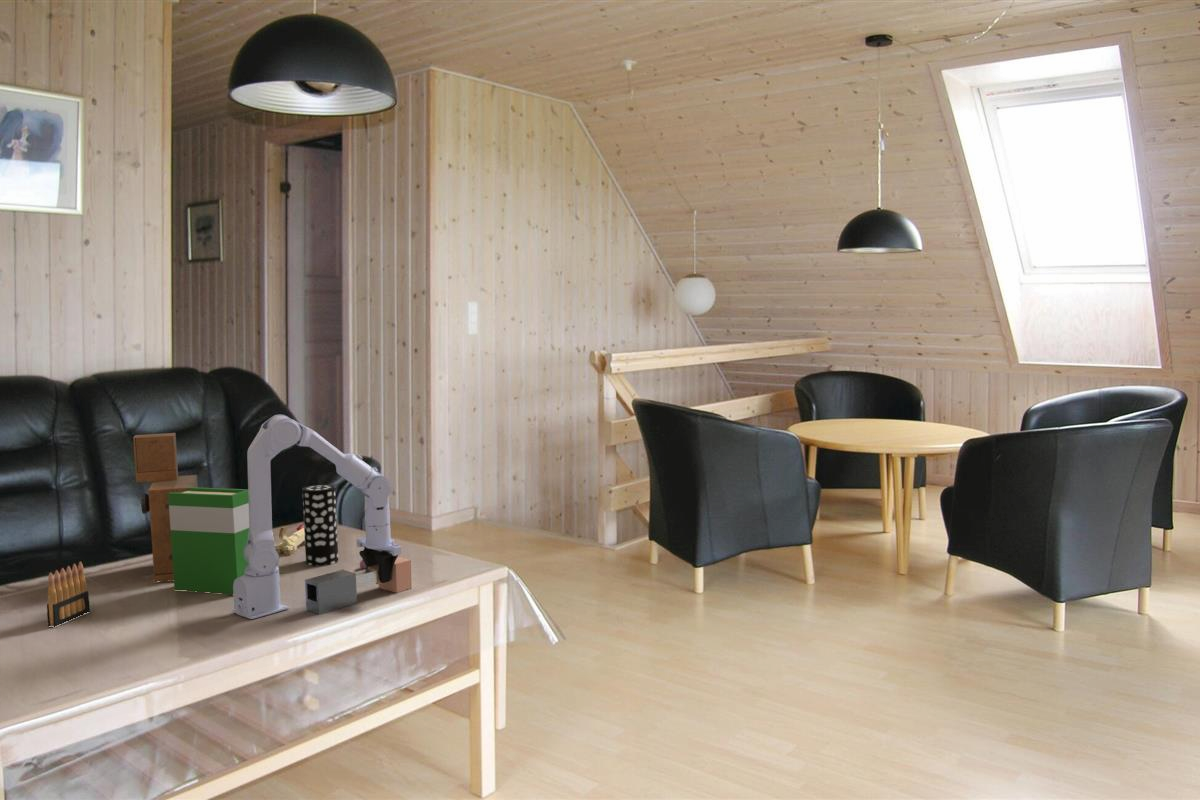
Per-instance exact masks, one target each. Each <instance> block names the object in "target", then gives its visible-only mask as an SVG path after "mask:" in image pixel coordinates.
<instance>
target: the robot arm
mask: <svg viewBox="0 0 1200 800" xmlns="http://www.w3.org/2000/svg"><path fill="white" fill-rule="evenodd" d="M294 445H297V446H298V447H308V448H311V449H312V450H313V451H315V452H317V453H318V454H320V455H321V457H324V458H325V459H326V460H328V461H330V462H331V463H333V464H334V465H335V468H336V474H338V475H339V476H340V477H342V478H343V479H345V480H346V481H347V482H349V483H350V484H351V485H353V486H354V487H356V489H358V490H359V489H360V491H361V493H363V494H364V527H365V528H364V529H365V537H359V538H356V547H357V548H361V547H362V548H363V550H360V551H359V556H360V557H361V559H362V560H363V561H364V562H365V565H366V567H367V568H366V569H368V567H370V566H374V565H377V564H378V567H379V574H380V580H381V583H386V582H389V581H390V578H391V573H392V569H393V566H394V563H395V561H396V559H397V557H399V556H400V555H402V546H401V545H399V544H396V543H395V539H392V537H391V516H390V515H391V511H390V495H391V493H392V491H393V486H391V483H390V480H389V478H387V476H384V475H382V474H381V473H380V472H379V469H377V467H375V466H373V467H372V466H371V465H369V464H368V463H366V462H365V461H364V460H363V456H361V455H360V454H358V453H357V454H355V453H352V452H350V453H343V452H342V451H341V450H339V449H338V448H337V447H336V446H334V445H333V444H331V443H330V442H329V441H327V440H326V439H325V438H324V437H322V436H321V435H320V434H319V433H318V432H316V431H315V430H314V429H311V428H309V427H308V426H306V425H304V424H301V422H297V421H296V420H295V419H292V418H290V417H289V416H287V415H285V414H275V415H273V416H271V417H269V418H268V419H267V420H266V421H265V422H263V423H262V424H261V426H260V428H259V431H258V432H257V434H256V436H255V437H254V439H253V440H252V442H251V443H250V445H249V447H248V449H247V452H246V453H247V454H246V455H247V457H246V458H247V489H248V498H249V532H248V541H247V544H246V546H245V549H244V557H245V559H246V561H247V562H248V563H249V565H248V566H247V568H246V569H245V574H244V575H243V576H241V577H239V578H236V579H235V581H234V584H233V594H234V595H233V608H234V609H233V610H232V613H233V614H235V613H236V615H238V616H241V617H244V618H246V619H249V620H255V619H258V618H261V617H264V616H268V615H272V614H275V613H280V612H283V611H285V610H288V609H289V608H290V607H289V606H288V605H285V604H282V603H281V588H280V587H281V585H280V584H281V583H280V567H279V566H278V565H279V562H280V557H279V555H280V554H278V553H277V551H276V550H275V547H274V545H275V538H274V534H273V520H272V518H273V516H272V515H273V513H272V509H273V508H272V478H271V477H272V476H271V475H272V474H271V473H272V472H271V468H272V467H271V461H272V459H274V458H275V457H276V455H278V454H279V453H280V452H281V451H283V450H285V449H288V448H290V447H292V446H294Z"/></svg>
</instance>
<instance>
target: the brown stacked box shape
mask: <svg viewBox="0 0 1200 800" xmlns="http://www.w3.org/2000/svg"><path fill="white" fill-rule="evenodd" d="M176 436H177V435H176V432H170V433H169V432H168V433H167V432H165V433H163V432H162V433H151V434H148V433H147V434H135V435H134V436H133V439H132V440H133V454H134V467H135V483H136V484H137V483H138V484H139V483H151V485H150V487H149V488H148V489H147V490H148V491H147V492H148V493H145V492H144V493H141V496H140V501H141V502H140V504H141V513H142V515H144V514H145V515H146V514H148V513H149V519H150V536H151V548H152V550H151V552H152V564H153V583H154V582H157V581H167V582H169V581H168V580H174V576H173V560H172V545H171V529H170V514H169V498H168V493H170V492H174V493H182V492H186V488H188V487H197V488H199V486H198V475H197V474H192V475H191V474H190V475H189V474H188V475H179V470H178V455H177V453H178V451H177V450H178V449H177V437H176ZM157 583H158V582H157Z"/></svg>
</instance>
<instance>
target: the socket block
mask: <svg viewBox="0 0 1200 800" xmlns="http://www.w3.org/2000/svg"><path fill="white" fill-rule="evenodd" d="M411 564H412V561H411V559H408V558H404V557H400V556H398V557H397V559H396V561H395V563H394V566H393V569H392V577H391V578H390V581H389V582H386V583H382V584H378V589H382V590H385V591H390V592H393V593H396V594H398V593H401V592H405V591H408V590H407V589H409V590H411V589H410V588H412V565H411Z"/></svg>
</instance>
